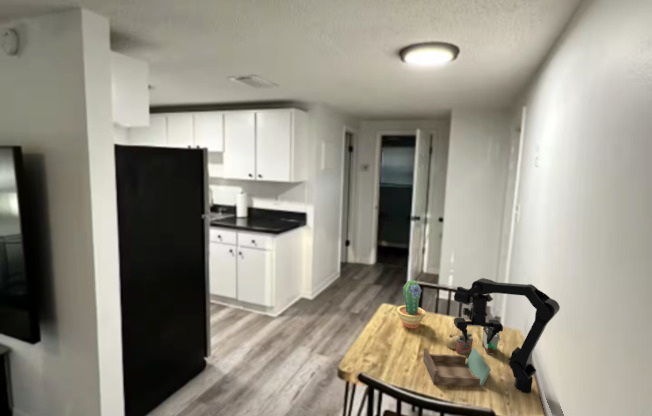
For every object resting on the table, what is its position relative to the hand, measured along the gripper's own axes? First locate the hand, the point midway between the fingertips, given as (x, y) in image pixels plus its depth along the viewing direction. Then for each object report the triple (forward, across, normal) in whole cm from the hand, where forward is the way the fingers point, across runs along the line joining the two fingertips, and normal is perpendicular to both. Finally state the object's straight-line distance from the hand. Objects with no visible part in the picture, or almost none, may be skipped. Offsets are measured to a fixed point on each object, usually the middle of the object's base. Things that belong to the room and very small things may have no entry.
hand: (476, 343), depth 154 cm
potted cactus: (+12, +21, -40) cm, 47 cm away
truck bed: (+12, +12, +6) cm, 18 cm away
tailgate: (+11, +2, +6) cm, 12 cm away
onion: (+12, +4, -17) cm, 21 cm away
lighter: (+12, +1, -12) cm, 17 cm away
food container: (+12, -13, -16) cm, 24 cm away
